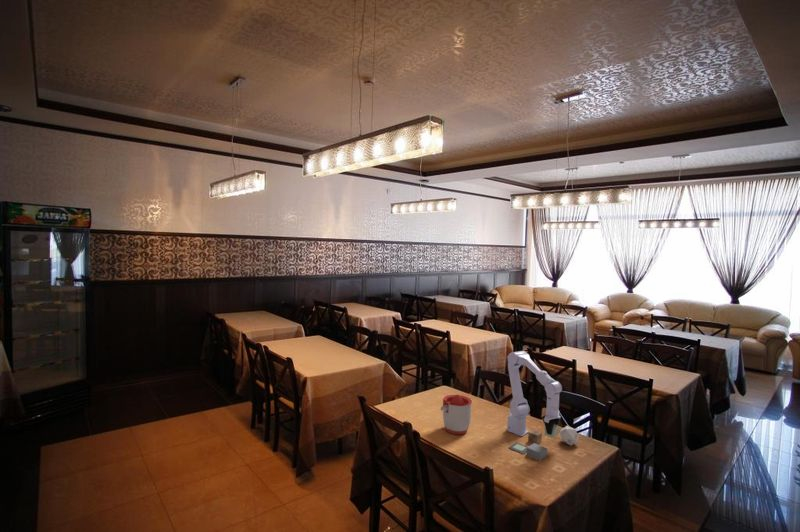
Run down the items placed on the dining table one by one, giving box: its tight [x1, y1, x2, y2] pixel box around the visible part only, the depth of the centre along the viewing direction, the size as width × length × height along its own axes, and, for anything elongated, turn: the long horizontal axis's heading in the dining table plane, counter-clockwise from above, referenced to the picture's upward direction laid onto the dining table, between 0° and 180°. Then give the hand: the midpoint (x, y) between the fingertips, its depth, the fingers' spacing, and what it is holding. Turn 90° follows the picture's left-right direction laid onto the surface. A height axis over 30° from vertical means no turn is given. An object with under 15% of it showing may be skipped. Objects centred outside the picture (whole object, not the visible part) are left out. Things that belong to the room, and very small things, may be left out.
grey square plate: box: [508, 441, 528, 455], centre depth 197 cm, size 8×8×1 cm
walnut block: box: [527, 428, 543, 445], centre depth 205 cm, size 5×5×5 cm
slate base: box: [526, 443, 548, 462], centre depth 191 cm, size 7×7×4 cm
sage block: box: [544, 424, 560, 439], centre depth 198 cm, size 5×5×5 cm
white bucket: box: [440, 394, 473, 435], centre depth 214 cm, size 16×17×20 cm
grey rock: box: [558, 425, 580, 446], centre depth 205 cm, size 8×9×10 cm
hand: (551, 432), depth 198 cm, fingers closed on sage block, 5 cm apart
